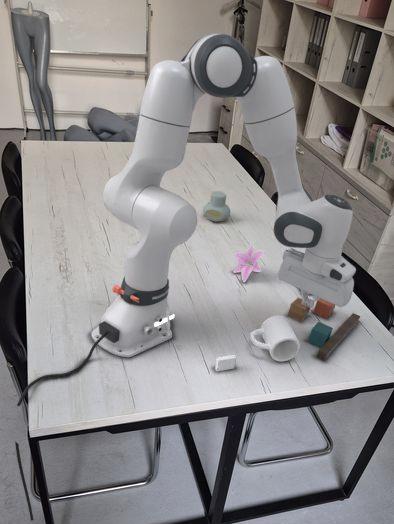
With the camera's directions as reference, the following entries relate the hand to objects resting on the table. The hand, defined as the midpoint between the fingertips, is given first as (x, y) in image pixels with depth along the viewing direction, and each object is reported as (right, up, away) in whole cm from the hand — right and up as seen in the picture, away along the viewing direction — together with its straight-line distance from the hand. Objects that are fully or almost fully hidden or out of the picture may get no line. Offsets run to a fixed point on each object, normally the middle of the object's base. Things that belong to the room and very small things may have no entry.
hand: (307, 305), depth 133 cm
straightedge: (+10, -9, +6) cm, 15 cm away
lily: (-14, +13, +29) cm, 34 cm away
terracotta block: (+8, -1, +15) cm, 18 cm away
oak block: (0, -2, +13) cm, 13 cm away
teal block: (+4, -10, +4) cm, 11 cm away
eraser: (-23, -17, -9) cm, 30 cm away
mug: (-10, -12, -1) cm, 16 cm away
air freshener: (-23, +40, +60) cm, 76 cm away
